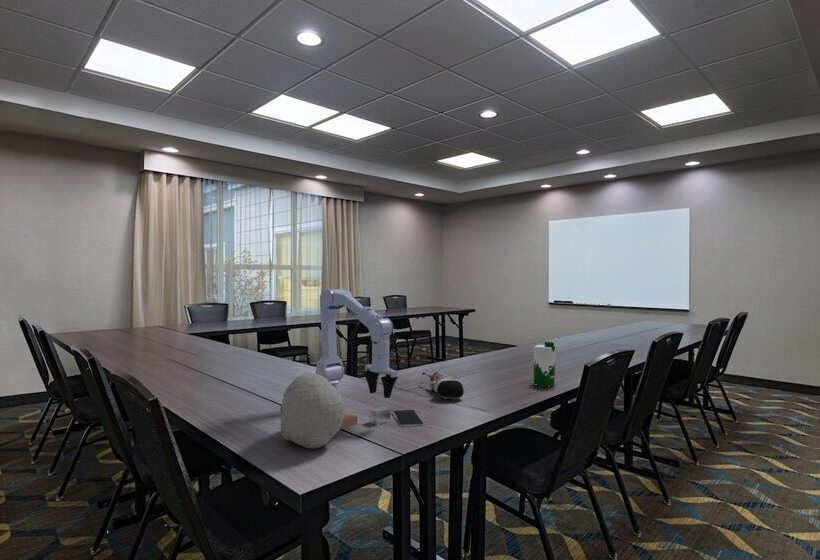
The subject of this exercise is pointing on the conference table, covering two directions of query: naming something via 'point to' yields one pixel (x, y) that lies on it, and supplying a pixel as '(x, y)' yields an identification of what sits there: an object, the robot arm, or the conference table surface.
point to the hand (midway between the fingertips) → (380, 395)
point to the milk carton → (544, 364)
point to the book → (348, 420)
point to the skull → (311, 411)
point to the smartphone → (407, 418)
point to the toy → (445, 386)
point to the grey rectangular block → (379, 415)
